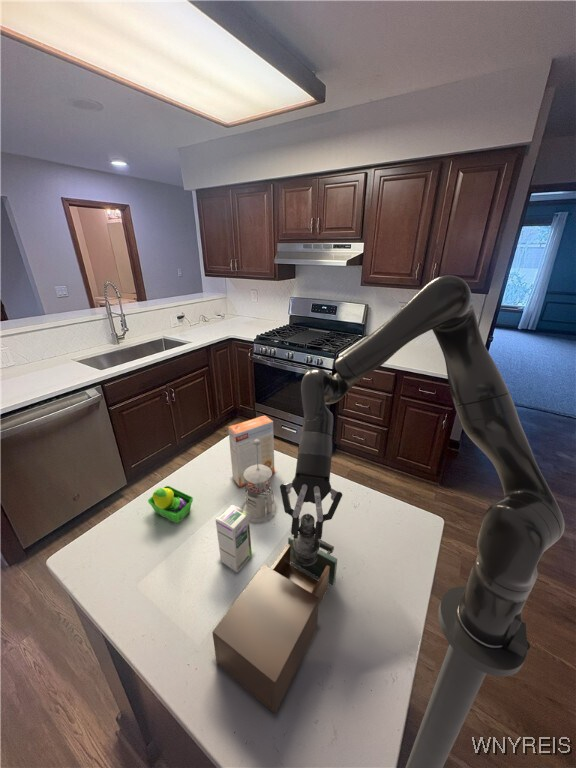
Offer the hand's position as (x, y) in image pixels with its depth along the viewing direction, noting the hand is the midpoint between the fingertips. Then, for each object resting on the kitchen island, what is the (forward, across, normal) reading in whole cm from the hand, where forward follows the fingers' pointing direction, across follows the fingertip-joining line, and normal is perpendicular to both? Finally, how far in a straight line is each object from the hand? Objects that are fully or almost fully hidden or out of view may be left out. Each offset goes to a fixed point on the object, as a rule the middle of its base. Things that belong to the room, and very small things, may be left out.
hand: (305, 539), depth 63 cm
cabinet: (+20, +5, -6) cm, 22 cm away
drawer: (+11, +1, -14) cm, 18 cm away
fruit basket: (+1, +42, -25) cm, 49 cm away
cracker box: (-14, +23, -40) cm, 48 cm away
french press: (-3, +16, -29) cm, 34 cm away
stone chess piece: (+4, 0, -6) cm, 7 cm away
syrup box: (+9, +18, -18) cm, 27 cm away
